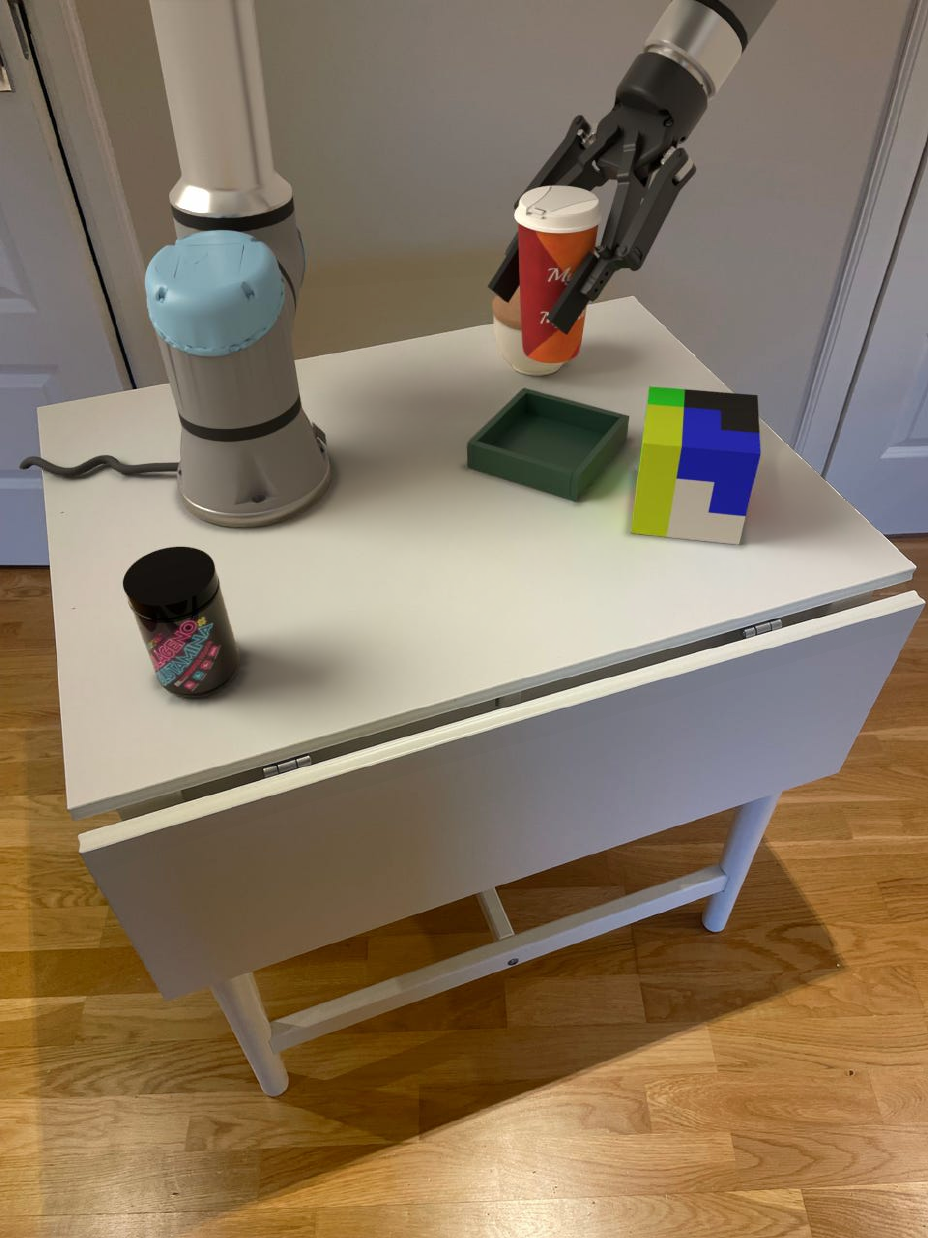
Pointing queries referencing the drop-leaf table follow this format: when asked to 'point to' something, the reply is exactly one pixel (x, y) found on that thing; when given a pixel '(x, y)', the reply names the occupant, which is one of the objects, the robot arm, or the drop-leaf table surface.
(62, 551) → the drop-leaf table surface
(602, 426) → the green square tray
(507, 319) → the trinket box
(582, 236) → the paper cup
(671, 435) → the puzzle toy
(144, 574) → the supplement container
